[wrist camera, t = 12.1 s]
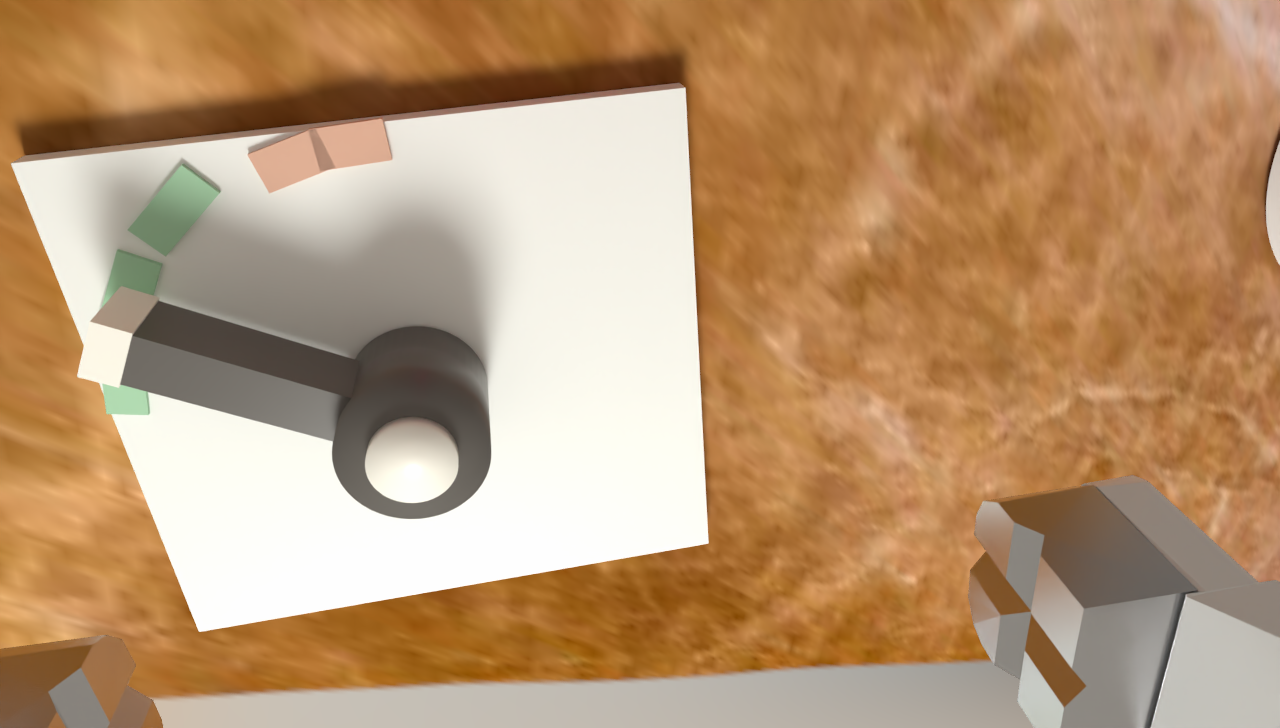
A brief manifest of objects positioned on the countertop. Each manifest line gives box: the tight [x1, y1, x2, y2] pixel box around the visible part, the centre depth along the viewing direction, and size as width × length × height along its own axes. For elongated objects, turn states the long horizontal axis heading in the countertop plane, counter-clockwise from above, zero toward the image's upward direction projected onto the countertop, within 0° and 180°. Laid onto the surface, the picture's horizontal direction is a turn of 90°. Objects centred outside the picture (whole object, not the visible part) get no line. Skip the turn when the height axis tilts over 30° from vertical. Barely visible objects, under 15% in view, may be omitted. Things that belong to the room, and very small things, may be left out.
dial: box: [77, 286, 491, 519], centre depth 31 cm, size 13×5×5 cm, turn 66°
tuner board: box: [11, 83, 708, 632], centre depth 35 cm, size 22×20×1 cm
